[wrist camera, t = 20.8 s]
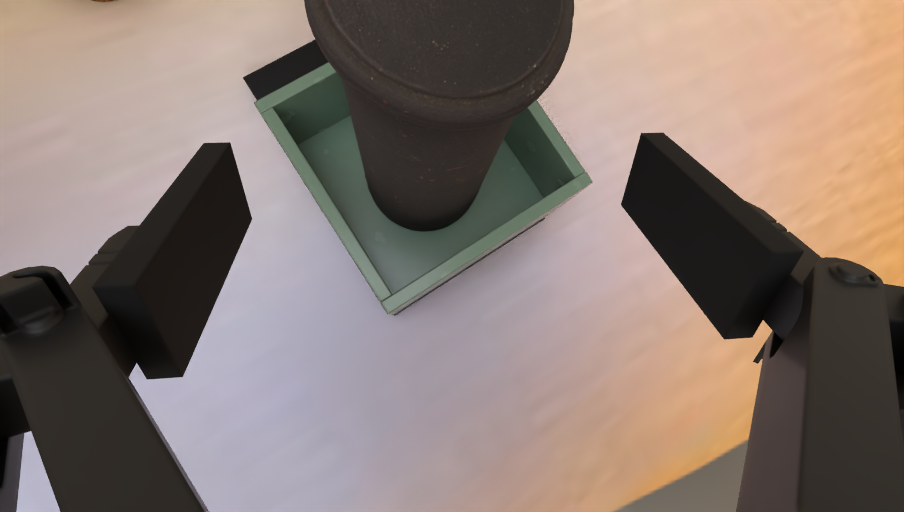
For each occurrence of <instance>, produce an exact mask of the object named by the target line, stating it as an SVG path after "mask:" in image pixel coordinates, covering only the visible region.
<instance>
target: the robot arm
mask: <svg viewBox="0 0 904 512" xmlns="http://www.w3.org/2000/svg"><path fill="white" fill-rule="evenodd" d="M621 205H622V207H623V208H624V209H625V211H626V212H627V213H628V215H629V216H630V217H631V218H632V220H633V221H634V222H635V224H636V225H637V226H638V228H639V229H640V230H641V232H642V233H643V234H644V235H645V237H646V238H647V239H648V241H649V242H650V243H651V245H652V246H653V247H654V248H655V250H656V251H657V252H658V254H659V255H660V256H661V258H662V259H663V260H664V261H665V263H666V264H667V265H668V267H669V268H670V269H671V271H672V272H673V273H674V275H675V276H676V277H677V278H678V280H679V281H680V282H681V284H682V285H683V286H684V288H685V289H686V290H687V291H688V293H689V294H690V295H691V297H692V298H693V299H694V301H695V302H696V303H697V304H698V306H699V307H700V308H701V310H702V311H703V312H704V314H705V315H706V316H707V318H708V319H709V320H710V321H711V323H712V324H713V325H714V327H715V328H716V329H717V331H718V332H719V333H720V334H721V336H722V337H723V338H724V339H736V338H750V337H753V335H754V334H755V332H756V330H757V329H758V327H759V325H760V324H761V322H762V320H764V321H765V322H766V323H767V324H768V326H769V327H770V328H771V329H772V330H773V331H772V333H771V334H770V336H769V337H768V339H767V340H766V342H765V344H764V345H763V347H762V348H761V350H760V352H759V353H758V355H757V356H756V358H755V359H754V361H753V362H755V363H759V361H760V360H761V359H763V361H762V367H761V372H760V378H759V384H758V390H757V395H756V401H755V407H754V412H753V418H752V424H751V429H750V435H749V441H748V447H747V453H746V458H745V464H744V470H743V475H742V481H741V487H740V492H739V498H738V504H737V509H736V512H904V287H901V286H894V285H888V284H883V282H882V280H881V278H879V277H878V276H877V275H876V274H875V273H874V272H872V271H871V270H869V269H867V268H865V267H864V266H862V265H859V264H857V263H854V262H851V261H849V260H844V259H840V258H827V257H825V258H821V257H820V256H819V255H818V254H816V253H815V252H814V251H813V250H812V249H810V248H809V247H808V246H807V245H805V244H804V243H803V242H802V241H801V240H799V239H798V238H797V237H796V236H794V235H793V234H792V233H791V232H787V229H786V228H785V227H784V226H782V225H781V224H780V223H776V220H775V219H774V218H773V217H771V216H770V215H769V214H768V213H766V212H765V211H764V210H762V209H760V208H758V207H756V206H754V205H752V204H750V203H748V202H746V201H744V200H743V199H742V198H740V197H739V196H738V195H737V194H736V193H734V192H733V191H732V190H731V189H730V188H728V187H727V186H726V185H725V184H724V183H722V182H721V181H720V180H719V179H718V178H716V177H715V176H714V175H713V174H712V173H711V172H709V171H708V170H707V169H706V168H705V167H703V166H702V165H701V164H700V163H699V162H697V161H696V160H695V159H694V158H693V157H691V156H690V155H689V154H688V153H687V152H685V151H684V150H683V149H682V148H681V147H679V146H678V145H677V144H676V143H675V142H674V141H672V140H671V139H670V138H669V137H668V136H666V135H665V134H664V133H641V136H640V139H639V143H638V146H637V150H636V154H635V157H634V161H633V164H632V168H631V171H630V175H629V178H628V182H627V185H626V189H625V193H624V196H623V200H622V203H621ZM251 220H252V217H251V214H250V210H249V207H248V203H247V200H246V196H245V193H244V189H243V186H242V182H241V179H240V175H239V172H238V168H237V165H236V161H235V158H234V154H233V151H232V147H231V144H230V143H204V144H203V145H202V146H201V147H200V149H199V150H198V151H197V153H196V154H195V155H194V156H193V158H192V159H191V160H190V162H189V163H188V164H187V165H186V167H185V168H184V169H183V171H182V172H181V173H180V174H179V176H178V177H177V178H176V180H175V181H174V182H173V183H172V185H171V186H170V187H169V189H168V190H167V191H166V192H165V194H164V195H163V196H162V197H161V199H160V200H159V201H158V203H157V204H156V205H155V206H154V208H153V209H152V210H151V212H150V213H149V214H148V215H147V217H146V218H145V219H144V221H143V222H142V223H141V224H140V226H127V227H125V228H124V229H122V230H121V231H119V232H118V233H116V234H115V235H113V236H112V237H110V238H109V239H108V240H107V241H106V242H105V244H104V245H103V246H102V247H101V248H100V249H99V251H98V254H95V255H94V257H93V258H92V259H91V260H90V261H89V265H86V266H85V267H84V268H83V270H82V271H81V272H80V273H79V274H78V276H77V277H76V278H75V279H74V280H73V281H72V283H71V284H70V285H69V284H68V282H67V280H66V279H65V277H64V276H63V274H62V273H61V272H60V271H59V270H58V269H56V268H55V267H48V266H37V267H27V268H24V269H20V270H17V271H13V272H10V273H8V274H5V275H3V276H1V277H0V512H16V509H17V499H18V489H19V479H20V469H21V459H22V449H23V439H24V433H25V432H29V431H32V434H33V437H34V440H35V442H36V445H37V448H38V451H39V453H40V456H41V459H42V462H43V465H44V467H45V470H46V473H47V476H48V478H49V481H50V484H51V487H52V489H53V492H54V495H55V498H56V500H57V503H58V506H59V509H60V512H209V511H208V509H207V507H206V506H205V504H204V502H203V501H202V499H201V497H200V496H199V494H198V492H197V491H196V489H195V487H194V486H193V484H192V482H191V481H190V479H189V477H188V476H187V474H186V472H185V471H184V469H183V467H182V466H181V464H180V462H179V461H178V459H177V457H176V456H175V454H174V452H173V451H172V449H171V447H170V446H169V444H168V442H167V441H166V439H165V437H164V436H163V434H162V432H161V431H160V429H159V427H158V426H157V424H156V422H155V421H154V419H153V417H152V416H151V414H150V412H149V411H148V409H147V407H146V406H145V404H144V402H143V401H142V399H141V397H140V396H139V394H138V392H137V391H136V389H135V387H134V386H133V384H132V383H131V381H130V379H129V378H128V377H129V376H130V374H131V372H132V370H133V368H134V367H135V365H136V363H137V364H138V365H139V367H140V369H141V370H142V372H143V374H144V375H145V377H146V379H160V378H174V377H183V375H184V373H185V371H186V368H187V366H188V364H189V361H190V359H191V357H192V355H193V352H194V350H195V348H196V345H197V343H198V341H199V339H200V336H201V334H202V332H203V330H204V327H205V325H206V323H207V320H208V318H209V316H210V314H211V311H212V309H213V307H214V304H215V302H216V300H217V298H218V295H219V293H220V291H221V289H222V286H223V284H224V282H225V279H226V277H227V275H228V273H229V270H230V268H231V266H232V264H233V261H234V259H235V257H236V254H237V252H238V250H239V248H240V245H241V243H242V241H243V238H244V236H245V234H246V232H247V229H248V227H249V225H250V223H251Z"/></svg>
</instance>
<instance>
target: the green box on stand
mask: <svg viewBox="0 0 904 512" xmlns="http://www.w3.org/2000/svg"><path fill="white" fill-rule="evenodd" d="M243 79H244V80H245V82H246V83H247V85H248V87H249V88H250V90H251V91H252V93H253V95H254V96H255V98H256V99H257V101H256V102H254V104H255V106H256V107H257V109H258V111H259V112H260V114H261V115H262V117H263V118H264V120H265V122H266V123H267V125H268V126H269V128H270V130H271V131H272V133H273V134H274V136H275V137H276V139H277V141H278V142H279V144H280V145H281V147H282V148H283V150H284V152H285V153H286V155H287V156H288V158H289V159H290V161H291V163H292V164H293V166H294V167H295V169H296V170H297V172H298V174H299V175H300V177H301V178H302V180H303V182H304V183H305V185H306V186H307V188H308V189H309V191H310V193H311V194H312V196H313V197H314V199H315V200H316V202H317V204H318V205H319V207H320V208H321V210H322V211H323V213H324V215H325V216H326V218H327V219H328V221H329V223H330V224H331V226H332V227H333V229H334V230H335V232H336V234H337V235H338V237H339V238H340V240H341V241H342V243H343V245H344V246H345V248H346V249H347V251H348V252H349V254H350V256H351V257H352V259H353V260H354V262H355V263H356V265H357V267H358V268H359V270H360V271H361V273H362V275H363V276H364V278H365V279H366V281H367V282H368V284H369V286H370V287H371V289H372V290H373V292H374V293H375V295H376V297H377V298H378V300H379V301H380V302H381V304H382V306H383V308H384V309H385V311H386V312H387V314H391V315H394V316H395V315H397V314H398V313H400V312H401V311H403V310H404V309H406V308H408V307H409V306H411V305H412V304H414V303H415V302H417V301H418V300H420V299H421V298H423V297H425V296H426V295H428V294H429V293H431V292H432V291H434V290H435V289H437V288H438V287H440V286H442V285H443V284H445V283H446V282H448V281H449V280H451V279H452V278H454V277H455V276H457V275H459V274H460V273H462V272H463V271H465V270H466V269H468V268H469V267H471V266H472V265H474V264H476V263H477V262H479V261H480V260H482V259H483V258H485V257H486V256H488V255H489V254H491V253H493V252H494V251H496V250H497V249H499V248H500V247H502V246H503V245H505V244H506V243H508V242H510V241H511V240H513V239H514V238H516V237H517V236H519V235H520V234H522V233H524V232H525V231H527V230H528V229H530V228H531V227H533V226H534V225H536V224H537V223H539V222H541V221H542V220H543V219H545V217H546V216H547V215H549V214H550V213H552V212H553V211H555V210H557V209H558V208H559V207H561V206H562V205H563V204H565V203H566V202H567V201H569V200H570V199H571V198H573V197H574V196H575V195H577V194H578V193H579V192H581V191H582V190H583V189H584V188H586V187H587V186H588V185H590V184H591V183H592V180H591V179H590V177H589V176H588V174H587V173H586V172H585V170H584V169H583V167H582V166H581V164H580V163H579V161H578V160H577V158H576V157H575V155H574V154H573V152H572V151H571V150H570V148H569V147H568V145H567V144H566V142H565V141H564V139H563V138H562V136H561V135H560V134H559V132H558V131H557V129H556V128H555V126H554V125H553V123H552V122H551V120H550V119H549V117H548V116H547V115H546V113H545V112H544V110H543V109H542V107H541V106H540V104H539V103H538V101H537V100H536V101H534V102H533V103H532V104H531V105H530V106H529V107H527V108H526V109H525V110H524V111H522V112H521V113H519V114H518V115H516V116H515V117H514V119H513V121H512V123H511V125H510V127H509V129H508V131H507V133H506V135H505V137H504V139H503V141H502V143H501V145H500V147H499V149H498V151H497V153H496V155H495V157H494V159H493V161H492V164H491V166H490V168H489V170H488V172H487V174H486V176H485V178H484V181H483V183H482V185H481V187H480V189H479V192H478V194H477V196H476V198H475V200H474V202H473V203H472V205H471V206H470V208H469V209H468V210H467V212H466V213H465V214H464V215H463V216H462V217H461V218H460V219H458V220H457V221H456V222H454V223H453V224H451V225H449V226H447V227H445V228H442V229H439V230H434V231H414V230H410V229H406V228H404V227H401V226H399V225H397V224H396V223H394V222H392V221H391V220H390V219H388V218H387V217H386V216H385V215H384V214H383V213H382V212H381V211H380V210H379V208H378V207H377V205H376V204H375V202H374V200H373V198H372V196H371V194H370V192H369V189H368V185H367V181H366V178H365V172H364V168H363V163H362V160H361V155H360V151H359V147H358V143H357V139H356V135H355V131H354V127H353V123H352V119H351V115H350V110H349V105H348V101H347V98H346V94H345V90H344V86H343V83H342V80H341V77H340V76H339V75H338V73H337V72H336V71H335V70H334V69H333V67H332V66H331V64H330V63H329V62H328V60H327V59H326V57H325V56H324V54H323V52H322V51H321V49H320V47H319V45H318V43H317V41H316V39H315V40H313V41H312V42H310V43H308V44H306V45H304V46H302V47H300V48H298V49H296V50H294V51H293V52H291V53H289V54H287V55H285V56H283V57H281V58H279V59H277V60H275V61H274V62H272V63H270V64H268V65H266V66H264V67H262V68H260V69H258V70H256V71H255V72H253V73H251V74H249V75H247V76H245V77H243Z"/></svg>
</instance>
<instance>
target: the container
mask: <svg viewBox="0 0 904 512" xmlns="http://www.w3.org/2000/svg"><path fill="white" fill-rule="evenodd" d="M304 1H305V8H306V13H307V18H308V21H309V24H310V27H311V30H312V32H313V35H314V37H315V39H316V41H317V43H318V45H319V47H320V49H321V51H322V52H323V54H324V56H325V57H326V59H327V60H328V62H329V63H330V64H331V66H332V67H333V69H334V70H335V71H336V72H337V73H338V75H339V76H340V77H341V80H342V83H343V86H344V90H345V94H346V98H347V101H348V105H349V110H350V115H351V119H352V123H353V127H354V131H355V135H356V139H357V143H358V147H359V151H360V155H361V160H362V163H363V168H364V172H365V178H366V181H367V185H368V189H369V192H370V194H371V196H372V198H373V200H374V202H375V204H376V205H377V207H378V208H379V210H380V211H381V212H382V213H383V214H384V215H385V216H386V217H387V218H388V219H390V220H391V221H392V222H394V223H396V224H397V225H399V226H401V227H404V228H406V229H410V230H414V231H434V230H439V229H442V228H445V227H447V226H449V225H451V224H453V223H454V222H456V221H457V220H458V219H460V218H461V217H462V216H463V215H464V214H465V213H466V212H467V210H468V209H469V208H470V206H471V205H472V203H473V202H474V200H475V198H476V196H477V194H478V192H479V189H480V187H481V185H482V183H483V181H484V178H485V176H486V174H487V172H488V170H489V168H490V166H491V164H492V161H493V159H494V157H495V155H496V153H497V151H498V149H499V147H500V145H501V143H502V141H503V139H504V137H505V135H506V133H507V131H508V129H509V127H510V125H511V123H512V121H513V119H514V117H515V116H516V115H518V114H519V113H521V112H522V111H524V110H525V109H526V108H527V107H529V106H530V105H531V104H532V103H533V102H534V101H536V100H537V99H538V98H539V97H540V96H541V94H542V93H543V92H544V91H545V90H546V89H547V88H548V86H549V85H550V84H551V82H552V81H553V79H554V78H555V76H556V75H557V73H558V71H559V70H560V67H561V65H562V63H563V61H564V58H565V55H566V53H567V50H568V47H569V43H570V39H571V32H572V20H573V16H574V0H304Z"/></svg>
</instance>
